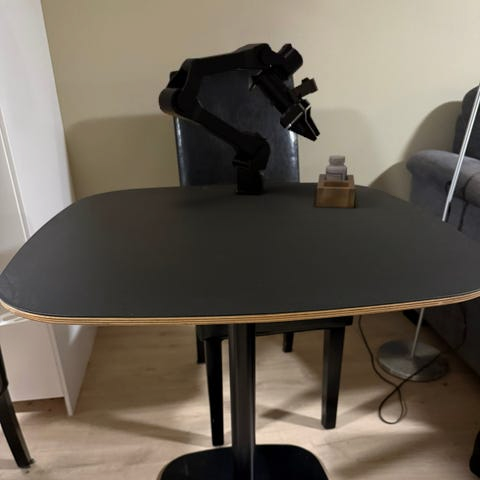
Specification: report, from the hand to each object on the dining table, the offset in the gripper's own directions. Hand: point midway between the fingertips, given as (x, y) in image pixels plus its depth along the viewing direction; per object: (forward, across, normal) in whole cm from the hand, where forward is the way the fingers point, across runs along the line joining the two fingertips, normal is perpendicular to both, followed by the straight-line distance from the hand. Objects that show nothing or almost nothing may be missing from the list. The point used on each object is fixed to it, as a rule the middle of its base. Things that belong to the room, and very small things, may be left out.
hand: (317, 137), depth 125 cm
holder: (+14, -9, +5) cm, 17 cm away
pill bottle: (+14, -5, +6) cm, 16 cm away
